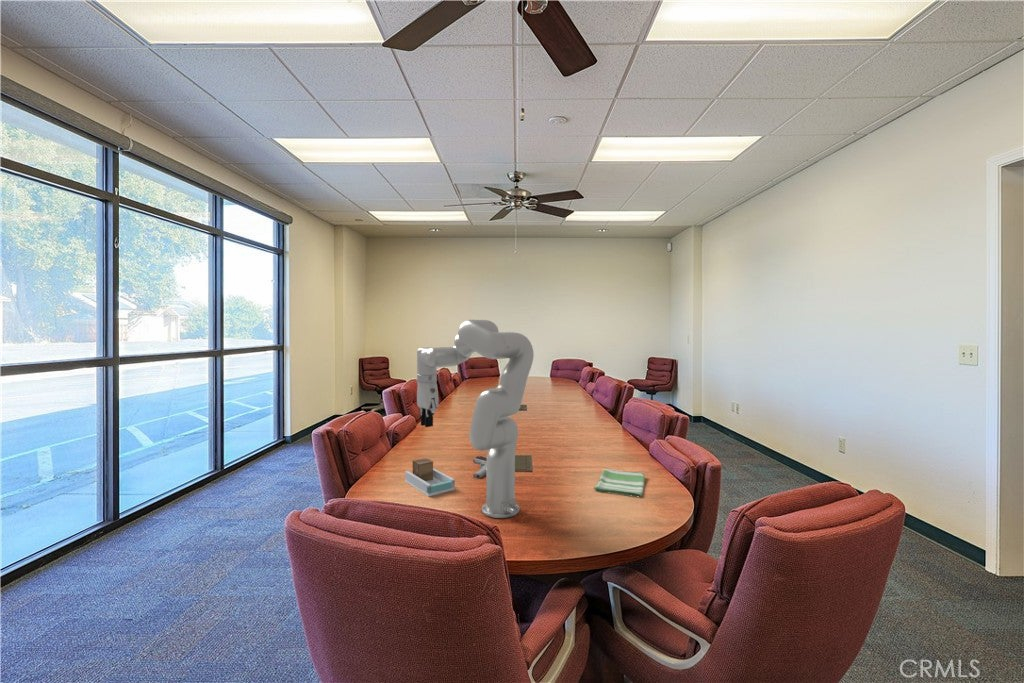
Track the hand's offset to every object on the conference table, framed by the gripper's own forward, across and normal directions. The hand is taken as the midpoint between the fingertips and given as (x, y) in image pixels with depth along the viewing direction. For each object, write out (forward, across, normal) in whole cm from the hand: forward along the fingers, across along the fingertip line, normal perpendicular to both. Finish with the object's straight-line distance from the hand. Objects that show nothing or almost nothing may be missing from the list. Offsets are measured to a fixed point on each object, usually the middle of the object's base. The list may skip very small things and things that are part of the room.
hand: (426, 425), depth 172 cm
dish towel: (+24, -46, -61) cm, 80 cm away
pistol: (+24, +4, -28) cm, 37 cm away
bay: (+23, -2, 0) cm, 23 cm away
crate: (+22, +4, 0) cm, 22 cm away
